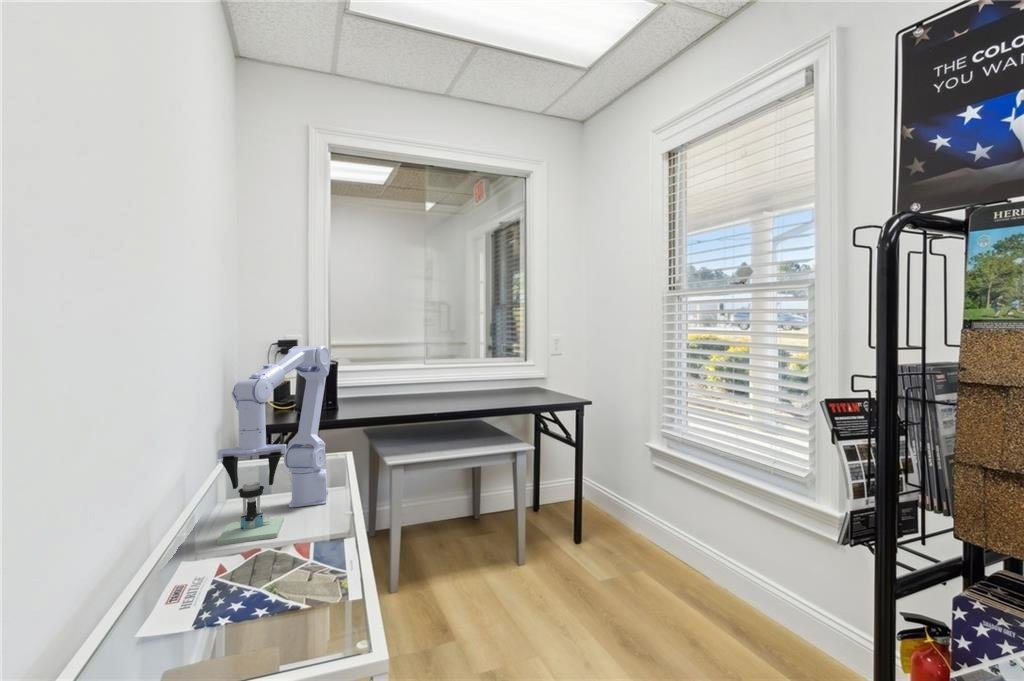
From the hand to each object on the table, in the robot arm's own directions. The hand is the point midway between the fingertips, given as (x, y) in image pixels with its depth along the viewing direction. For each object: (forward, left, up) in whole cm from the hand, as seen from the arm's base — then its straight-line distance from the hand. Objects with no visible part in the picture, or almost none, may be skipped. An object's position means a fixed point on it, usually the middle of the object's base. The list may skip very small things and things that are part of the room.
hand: (253, 485), depth 118 cm
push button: (0, +1, -10) cm, 10 cm away
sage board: (0, +2, -10) cm, 10 cm away
